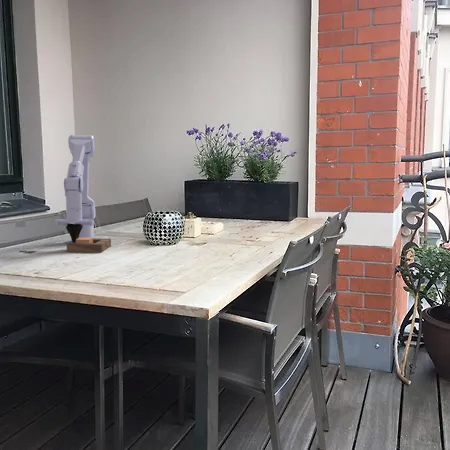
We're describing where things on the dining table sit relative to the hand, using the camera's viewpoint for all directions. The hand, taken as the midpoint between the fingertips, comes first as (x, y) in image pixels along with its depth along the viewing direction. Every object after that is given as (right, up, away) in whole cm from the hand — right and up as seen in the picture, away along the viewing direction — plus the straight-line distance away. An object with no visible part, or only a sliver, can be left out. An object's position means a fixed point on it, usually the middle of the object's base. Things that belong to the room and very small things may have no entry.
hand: (75, 243), depth 197 cm
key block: (+4, -2, 0) cm, 4 cm away
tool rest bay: (+6, -2, 0) cm, 6 cm away
